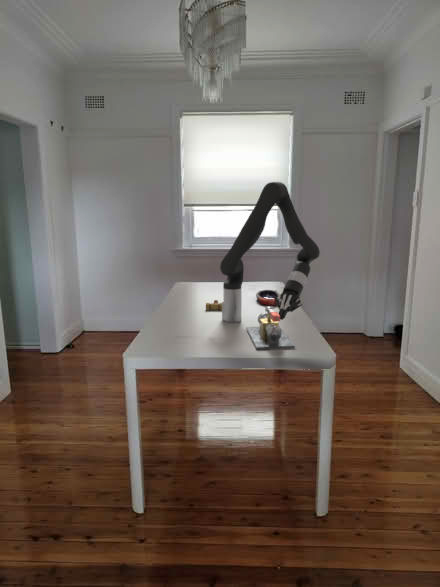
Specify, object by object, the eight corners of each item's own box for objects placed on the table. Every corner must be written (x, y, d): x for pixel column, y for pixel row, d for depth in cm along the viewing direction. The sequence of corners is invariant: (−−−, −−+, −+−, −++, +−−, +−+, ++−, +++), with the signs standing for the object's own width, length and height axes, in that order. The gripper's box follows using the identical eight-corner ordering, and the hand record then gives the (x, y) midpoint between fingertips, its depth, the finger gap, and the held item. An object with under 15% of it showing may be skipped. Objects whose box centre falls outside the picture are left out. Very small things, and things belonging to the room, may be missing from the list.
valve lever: (264, 310, 167) (264, 305, 167) (272, 310, 168) (272, 305, 167) (272, 321, 151) (272, 316, 151) (281, 321, 151) (281, 315, 151)
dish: (279, 295, 251) (279, 288, 250) (282, 307, 221) (283, 299, 220) (255, 295, 252) (255, 288, 251) (256, 307, 222) (256, 299, 221)
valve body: (246, 329, 181) (246, 304, 178) (279, 328, 182) (279, 303, 180) (256, 349, 155) (256, 321, 152) (294, 348, 156) (295, 320, 153)
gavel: (208, 297, 235) (224, 297, 234) (208, 304, 235) (224, 304, 235) (205, 303, 214) (223, 303, 214) (205, 311, 215) (223, 311, 214)
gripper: (278, 277, 163) (263, 311, 156) (306, 280, 154) (291, 316, 148) (284, 287, 168) (269, 320, 161) (312, 290, 160) (297, 326, 153)
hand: (280, 318), depth 155 cm, fingers closed
